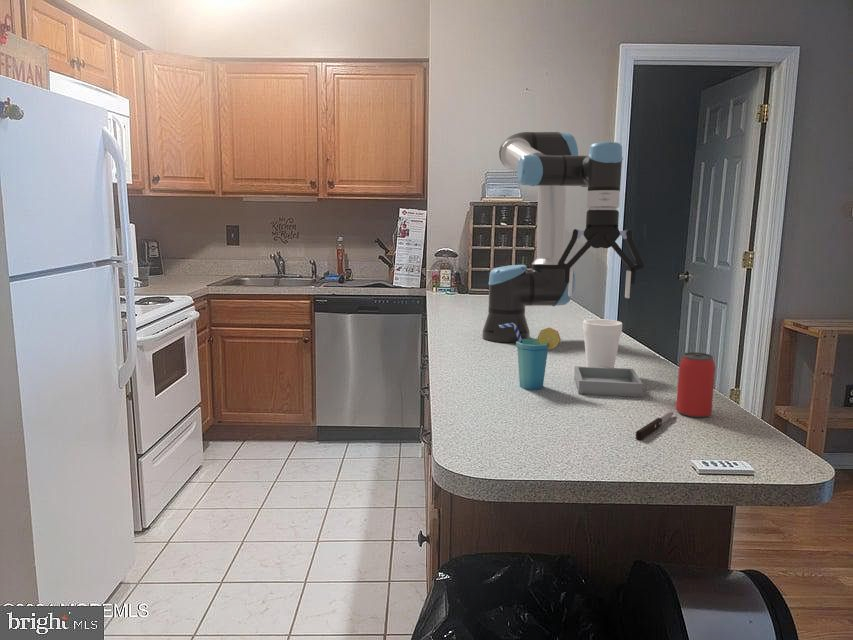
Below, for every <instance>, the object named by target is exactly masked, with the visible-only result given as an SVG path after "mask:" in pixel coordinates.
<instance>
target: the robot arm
mask: <svg viewBox="0 0 853 640" xmlns="http://www.w3.org/2000/svg"><path fill="white" fill-rule="evenodd" d="M498 150H499V152H498V153H499V154H498V155H499V160H500V162H501V164H502V165H503V166H504V167H505V168H506V169H508V170H510V171H515V172H517V179H518V180H517V181H518V183H519V184H520V185H522V186H528V187H529V186H530V187H538V188H537V224H536V225H537V227H536V228H537V230H536V232H537V233H536V237H537V238H536V258H535V259H534V261H533V262H531V268H530V269H529V268H527V265H525V264H511V265H504V266H503V265H502V266H499V267H494V268H493V269H492V270H490V272H489V277H488V278H489V279H488V314H487V317H486V319H485V323H484V326H483V329H482V337H481V338H482V339H484V340H486V341H490V342H497V343H516V342H517V341H518V338H517V335H516V332H515V329H514V328H513V327H507V328H499V325H502V324H508V323H514V324H515V325H516V326H517V327H518V330H519V333H520V336H521V339H530V338H531V337H530V335H531V333H530V328H529V325H528V321H527V318H526V307H529V306H530V307H535V306H536V307H537V306H539V307H540V306H541V307H542V306H545V307H548V306H551V307H556V306H557V307H558V306H564V305H567V304H568V303H569V302H570V301H571V299H572V297H573V295H574V292H575V286H576V277H575V271H574V270H573V269H571V268H572V267H573V266H574V265H575V264H576V263H577V261H579V259H580V258H581V257H582V256H583V255H584V254H585V253H586V252H587V251H588V250H589V249H590V248H591V247H592V248H593V249H599V248H603V249H609V248H612V249H613V250H614V252H615V253H616V254H617V255H618V257H619V258H620V259H621V260H622V261H623V262H624V264H625V265H626V267H627V268H628V269H629V270H626V273H625V286H624V288H625V289H624V298H626V299H630V297H631V296H630V295H631V294H630V293H631V285H635V283H636V272H637V271H639V270H642V269H644V267H645V264H644V262H643V260H642V258H641V256H640V255H641V254H639V251H638V249H637V246H636V244H635V242H634V240H633V232H632V230H631V229H625V230H619V218H620V217H619V216H620V212H619V210H618V209H617V208H620V196H621V183H622V167H623V159H624V158H623V157H624V156H623V146H622V144H621V143H620V142H614V141H600V142H594V143H592V144H590V146H589V152H588V155H579V148H578V144H577V141H576V138H575V137H574V136H573V134H572V133H569V132H560V131H521V132H518V133H514V134H513V135H510V136H508V137H507V138H506V139H505V140H504V141H503V142H502V143H501V144H500V147H499V149H498ZM567 187H582V188H587V194H586V195H587V198H586V200H587V202H586V208H588V210H587V211H586V219H585V229H584V230H581V229H580V230H579V229H575V228H574V229H573V230H572V232H571V238H570V240H569V242H568V244H567V245H566V247H565V244H566V243H565V237H566V236H565V235H566V202H567V201H566V198H567V196H566V195H567V194H566V193H567ZM582 236H584V238H585V239H586V242H585V243H584V244H583V245H582V246H581V247H580V249H579V250H578V251H577V252H576V253H575V254H574V255H573V256H572V257H571V258H570V259H569V260H568V261H567V258H568V257H569V255H570V253H571V251H572V249H573V247H574V246H575V245H576V242H577V240H578V239H581V237H582ZM620 236H621V238H622V239H623V240H625V241H626V245H627V246H628V248H629V251H630V253H631V254H632V257H633V260H634V261H635V264H634V263H633V262H632V261H631V260H630V258H629V257H628V256H627V254H626V253H625V252H624V250H622V248H621V247H620V246H619V244H618V243H617V242H616V241H617V240H618V238H619V237H620Z"/></svg>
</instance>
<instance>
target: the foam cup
mask: <svg viewBox="0 0 853 640" xmlns="http://www.w3.org/2000/svg"><path fill="white" fill-rule="evenodd" d="M582 332H583V340H584V350H585V351H584V352H585V363H586V365H585V367H604V368H615V365H616V360H617V355H618V351H619V350H618V349H619V345H620V340H621V335H622V332H623V323H622V321H619V320H614V319H607V318H605V319H603V318H590V319H589V318H588V319H584V320H583V321H582Z"/></svg>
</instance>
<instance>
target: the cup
mask: <svg viewBox="0 0 853 640" xmlns="http://www.w3.org/2000/svg"><path fill="white" fill-rule="evenodd" d="M507 327H513V328H514V329H515V332H516V335H517V338H518V341H517V342H515V346H516V348H517V363H518V377H519V379H518V380H519V381H518V383H519V388H522V389H523V390H528V391H529V390H530V391H531V390H532V391H534V390H535V391H537V390H541V389H543V387H544V382H545V374H546V367H547V366H546V365H547V358H548V351H549V350H552V349H556V348H558V346H559V344H560V342H561V340H562V339H561V336H560V333H559V331H558V330H557V329H554V328H552V327H550V326H549V327H546V328H543V329H541V330H540V332H539V334H538V336H537V338H531V337H530V339H521V336H520V333H519V330H518V327H517V326H516V325H515V324H514V323H508V324H502V325H499V328H507Z"/></svg>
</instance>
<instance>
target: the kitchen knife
mask: <svg viewBox="0 0 853 640" xmlns="http://www.w3.org/2000/svg"><path fill="white" fill-rule="evenodd" d="M674 413H675V412H671V411H669V412H667V413H665V414H663V415H662V416H661V417H656V418H655V419H654V420H652V421H650V422H649V423H648V424H646V425H644V426H643V427H641V428H640V429H638V430H636V432H635V439H636V441H642V440H643V439H644V438H646V437H648V436H650V435H652V434H653V433H654V432H655V431H657V430H658V429H659V428H660V427H661V426H662V424H664V423H666V422H667V421H668V420H670V419H671V418H672V417H673V416H674V415H675V414H674Z"/></svg>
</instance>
